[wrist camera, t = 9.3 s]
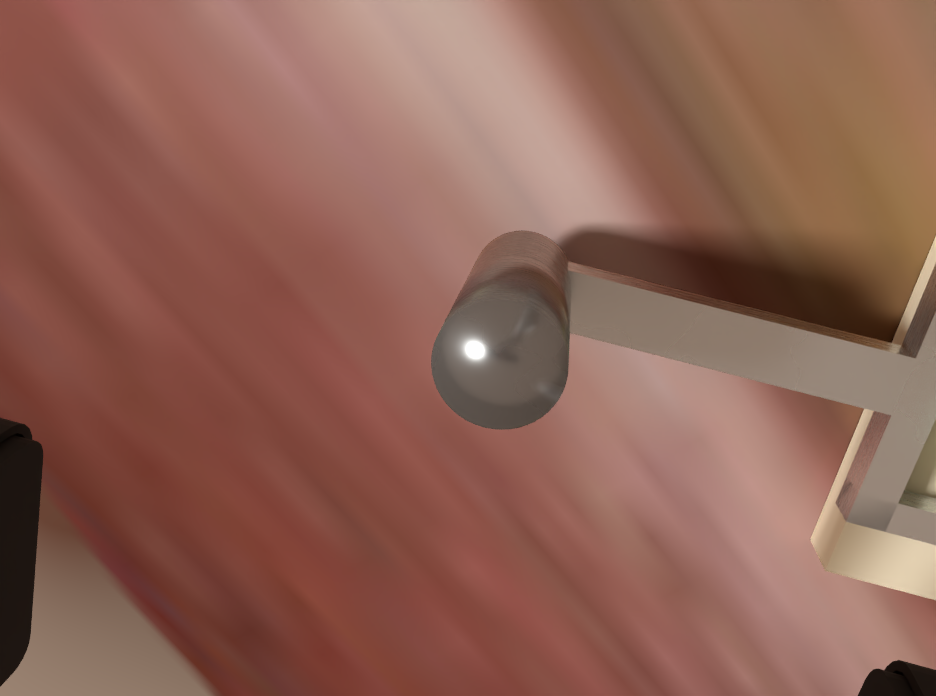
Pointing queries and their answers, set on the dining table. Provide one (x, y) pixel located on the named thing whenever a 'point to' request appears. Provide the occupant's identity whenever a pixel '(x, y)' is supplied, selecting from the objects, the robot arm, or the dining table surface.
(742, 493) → the dining table surface
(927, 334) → the slider
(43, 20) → the dining table surface
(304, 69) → the dining table surface
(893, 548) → the tunnel
